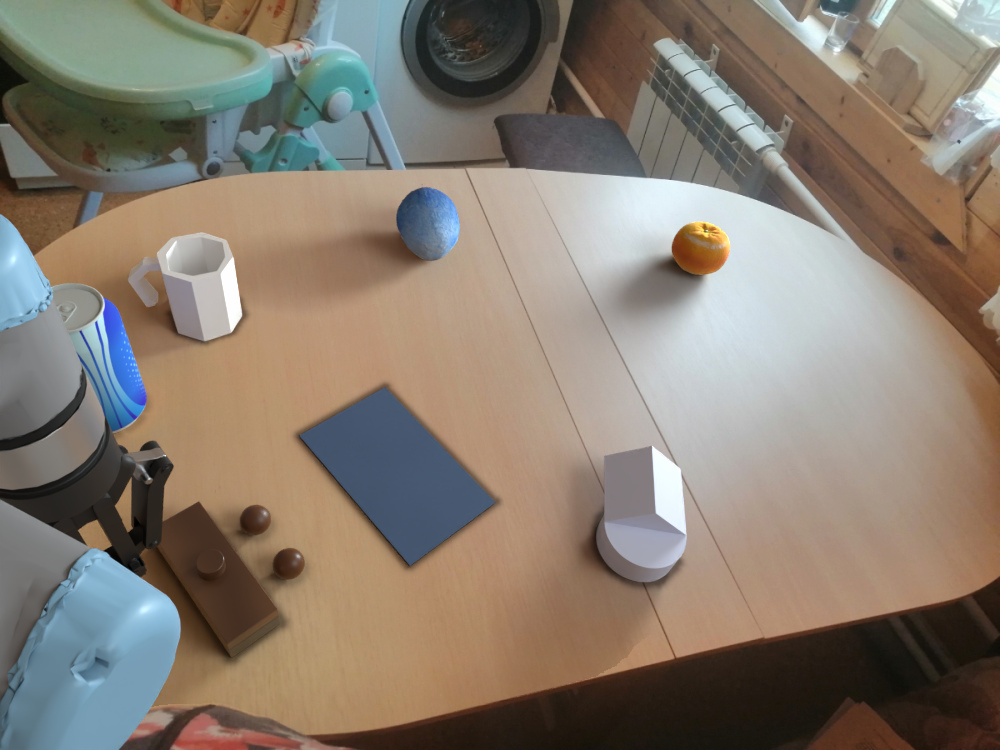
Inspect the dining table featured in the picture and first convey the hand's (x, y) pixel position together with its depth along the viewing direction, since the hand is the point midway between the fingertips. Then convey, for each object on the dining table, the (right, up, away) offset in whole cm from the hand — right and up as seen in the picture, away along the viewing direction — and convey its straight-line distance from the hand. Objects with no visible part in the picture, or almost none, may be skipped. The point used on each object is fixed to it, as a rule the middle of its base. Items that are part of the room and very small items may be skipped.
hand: (130, 596), depth 60 cm
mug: (-8, +26, +30) cm, 40 cm away
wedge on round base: (+46, +1, +20) cm, 50 cm away
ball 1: (+6, +4, +12) cm, 14 cm away
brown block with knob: (+4, -1, +9) cm, 10 cm away
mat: (+19, +8, +20) cm, 29 cm away
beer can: (-12, +15, +19) cm, 27 cm away
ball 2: (+10, 0, +10) cm, 14 cm away
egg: (+20, +38, +46) cm, 63 cm away
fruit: (+61, +36, +53) cm, 88 cm away
